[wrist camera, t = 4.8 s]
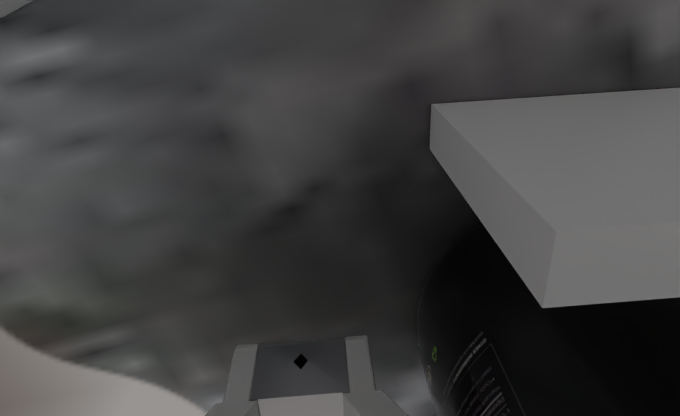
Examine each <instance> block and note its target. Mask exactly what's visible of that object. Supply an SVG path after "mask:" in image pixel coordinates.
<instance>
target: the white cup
mask: <svg viewBox="0 0 680 416" xmlns="http://www.w3.org/2000/svg"><path fill="white" fill-rule="evenodd" d="M32 1H33V0H0V18H2V17H5V16H7V15H8V14H10V13H12V12H14V11H16V10H17V9H19V8H21V7H23V6H24V5H26V4H28V3H30V2H32Z"/></svg>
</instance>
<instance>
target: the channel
mask: <svg viewBox="0 0 680 416" xmlns="http://www.w3.org/2000/svg"><path fill="white" fill-rule="evenodd" d="M430 150H431V152H432V153H433V155H434V156H435V157H436V159H437V160H438V162H439V163H440V164H441V166H442V167H443V169H444V170H445V171H446V173H447V174H448V176H449V177H450V179H451V180H452V181H453V183H454V184H455V186H456V187H457V188H458V190H459V191H460V193H461V194H462V195H463V197H464V198H465V200H466V201H467V203H468V204H469V205H470V207H471V208H472V210H473V211H474V212H475V214H476V215H477V217H478V218H479V219H480V221H481V222H482V224H483V225H484V227H485V228H486V229H487V231H488V232H489V234H490V235H491V236H492V238H493V239H494V241H495V242H496V243H497V245H498V246H499V248H500V249H501V251H502V252H503V253H504V255H505V256H506V258H507V259H508V260H509V262H510V263H511V265H512V266H513V267H514V269H515V270H516V272H517V273H518V274H519V276H520V277H521V279H522V280H523V282H524V283H525V284H526V286H527V287H528V289H529V290H530V291H531V293H532V294H533V296H534V297H535V298H536V300H537V301H538V303H539V304H540V306H541V307H542V308H551V307H563V306H576V305H589V304H601V303H614V302H626V301H639V300H651V299H664V298H676V297H680V88H666V89H651V90H636V91H621V92H606V93H591V94H576V95H560V96H545V97H530V98H515V99H500V100H485V101H470V102H455V103H440V104H431V125H430Z"/></svg>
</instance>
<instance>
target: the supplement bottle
mask: <svg viewBox="0 0 680 416" xmlns="http://www.w3.org/2000/svg"><path fill="white" fill-rule="evenodd" d="M416 333H417V341H418V347H419V351H420V355H421V359H422V363H423V367H424V371H425V375H426V379H427V383H428V387H429V390H430V394H431V398H432V401H433V405H434V409H435V412H436V416H680V297H676V298H664V299H651V300H639V301H626V302H614V303H601V304H589V305H576V306H563V307H551V308H542V307H541V306H540V304H539V303H538V301H537V300H536V298H535V297H534V296H533V294H532V293H531V291H530V290H529V289H528V287H527V286H526V284H525V283H524V282H523V280H522V279H521V277H520V276H519V274H518V273H517V272H516V270H515V269H514V267H513V266H512V265H511V263H510V262H509V260H508V259H507V258H506V256H505V255H504V253H503V252H502V251H501V249H500V248H499V246H498V245H497V243H496V242H495V241H494V239H493V238H492V236H491V235H490V234H489V232H488V231H487V229H486V228H485V227H484V225H483V224H482V222H481V223H479V224H478V225H476V226H475V227H473V228H472V229H471V230H469V231H468V232H467V233H465V234H464V235H463V236H462V237H461V238H460V239H459V240H457V241H456V242H455V243H454V244H453V245H452V246H451V247H450V248H449V249H448V251H447V252H446V253H445V254H444V255H443V256H442V258H441V259H440V260H439V262H438V263H437V265H436V266H435V268H434V269H433V271H432V272H431V274H430V276H429V278H428V280H427V282H426V284H425V286H424V289H423V291H422V294H421V297H420V301H419V305H418V311H417V318H416Z"/></svg>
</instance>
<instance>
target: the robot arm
mask: <svg viewBox="0 0 680 416" xmlns="http://www.w3.org/2000/svg"><path fill="white" fill-rule="evenodd" d="M205 416H408V415H407V414H406V413H405V412H404V411H403V410H402V409H401V408H400V407H399V406H398V405H397V404H396V403H395V402H394V401H393V400H392V399H391V398H390V397H389V396H388V395H387V394H386V393H385V392H384V391H376V387H375V381H374V374H373V368H372V362H371V356H370V350H369V343H368V338H367V336H366V335H361V336H350V337H345V340H344V337H342V338H330V339H319V340H307V341H294V342H275V343H259V344H246V345H237V346H236V348H235V350H234V353H233V358H232V363H231V367H230V372H229V377H228V382H227V387H226V391H225V396H224V401H223V403H221V404H216V405H215V406H214V407H213V408H212V409H211V410H210V411H209V412H208V413H207V414H206V415H205Z"/></svg>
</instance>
